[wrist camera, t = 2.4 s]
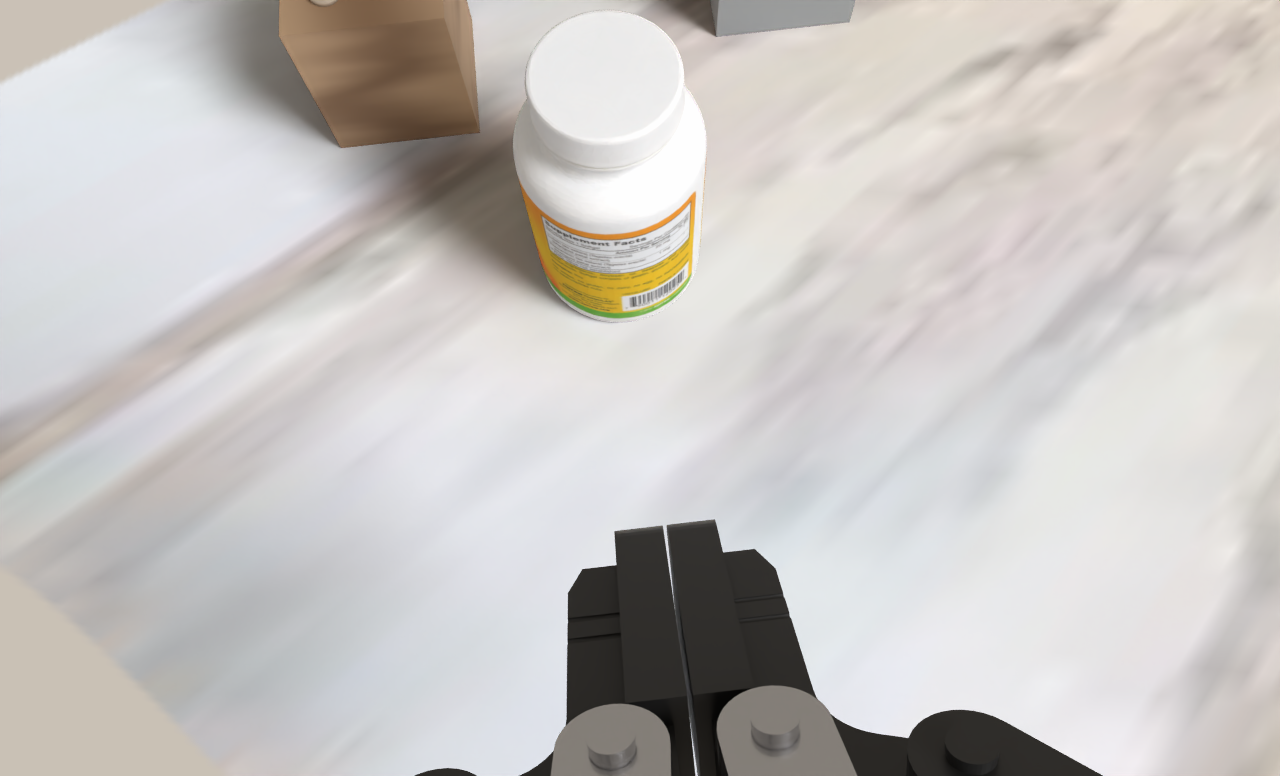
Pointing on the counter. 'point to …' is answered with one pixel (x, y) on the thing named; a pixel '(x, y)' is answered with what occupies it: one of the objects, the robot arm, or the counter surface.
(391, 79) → the walnut two pip block
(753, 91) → the counter surface
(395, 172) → the counter surface
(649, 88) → the supplement bottle
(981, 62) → the counter surface
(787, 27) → the slate three pip block
